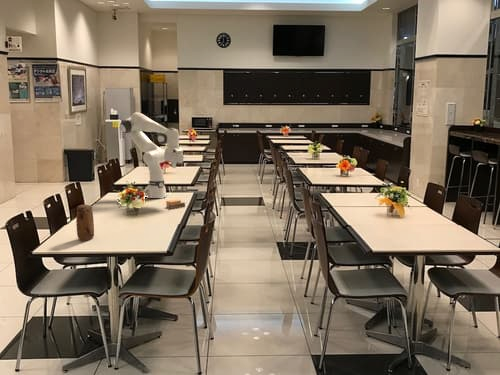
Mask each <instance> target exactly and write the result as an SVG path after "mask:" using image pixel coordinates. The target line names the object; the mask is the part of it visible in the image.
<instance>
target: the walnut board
mask: <svg viewBox="0 0 500 375" xmlns="http://www.w3.org/2000/svg"><path fill="white" fill-rule="evenodd" d="M180 207H181V208H185V207H186V202H181V203H177V204H172V205H169V208H168V209H170V210H175V208H176V209H180Z"/></svg>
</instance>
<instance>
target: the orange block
mask: <svg viewBox="0 0 500 375" xmlns="http://www.w3.org/2000/svg"><path fill="white" fill-rule="evenodd" d="M165 203H166V206H165V207H166V208H167V207H168V208H167V209H169V205H172V204H177V203H182V201H181V199H177V198H175V199H170V200H166V201H165Z"/></svg>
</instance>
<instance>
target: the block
mask: <svg viewBox="0 0 500 375" xmlns="http://www.w3.org/2000/svg"><path fill="white" fill-rule="evenodd" d="M76 208H77V209H76V216H75V218H76V234H77V238H78V240H79V241H80V242H86V241H87V242H88V241H90V240H92V239H93V238H94V236H95V224H94V212H93V206H92V205H91V204H89V205H88V204H80V205H78V206H77V207H76Z"/></svg>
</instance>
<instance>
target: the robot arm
mask: <svg viewBox="0 0 500 375" xmlns="http://www.w3.org/2000/svg"><path fill="white" fill-rule="evenodd" d="M119 127H120V130H121V132H123V133H124V134H129V136H130V138H131V140H132V141H133V143H134V144H135V145H136V147H137V148H138V149H139V150H140V151H141V152H143V153H144V154H143V155H142V159H143V160H142V161H143V162H144V163H145V164H146V166H147V167H148V171H149V180H148V185H147V186H146V187H145V188H144V190H143V193H144V192H145V195H146V196H148V197H147V198H161V199H165V198H164V197H166V198H167V196H166V194H167V189H166V186H165V178H164V177H165V176H164V169H162V168H161V165H160V164H161V163H165V162H166V161H167V162H170V164H171V168H172V169H173V168H174V169H175V168H176V166H177V163H178V164H183V163H184V149H183V148H181V147H180V142H179V141H180V135H179V129H178V128H175V127H168V128H167V127H166V126H164V125H162V124H161V123H159V122H156V121H154V120H153V119H151V118H150V117H148V116H146V115H145V114H143V113H141V112H138V111H137V112H133V113H132V115H131V116H130V117H128V118H126V119H124V120H122V121H121V122H120V123H119ZM144 132H147V133H158V134H157V136H156V139H157V142H158V143H159V144H160V145H162V146H163V145H167V148H166V149H163V148H161V147H159V146H158V145H157V144H155V142H153V141H152V140H150V138H149V137H148V136H147V135H146V133H144ZM147 198H146V199H147Z"/></svg>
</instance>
